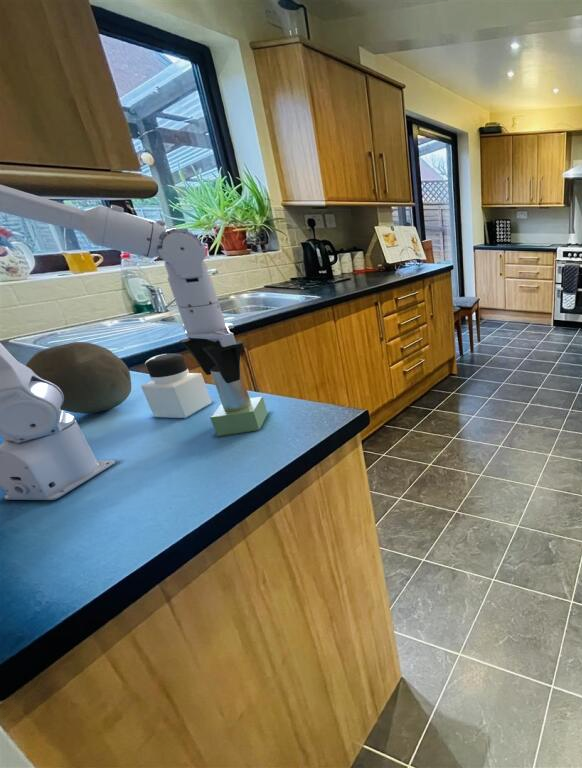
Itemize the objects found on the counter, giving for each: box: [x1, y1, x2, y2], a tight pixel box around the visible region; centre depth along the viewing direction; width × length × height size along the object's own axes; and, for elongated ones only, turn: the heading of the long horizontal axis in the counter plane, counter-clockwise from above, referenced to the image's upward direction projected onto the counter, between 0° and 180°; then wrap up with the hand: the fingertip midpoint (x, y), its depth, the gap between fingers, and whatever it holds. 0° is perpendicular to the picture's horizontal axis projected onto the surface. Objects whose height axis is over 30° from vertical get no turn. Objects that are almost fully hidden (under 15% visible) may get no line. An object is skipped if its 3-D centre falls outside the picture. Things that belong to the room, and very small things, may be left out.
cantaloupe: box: [25, 341, 132, 414], centre depth 81 cm, size 14×14×15 cm
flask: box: [210, 366, 251, 412], centre depth 74 cm, size 4×4×10 cm
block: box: [210, 396, 269, 437], centre depth 77 cm, size 7×7×4 cm
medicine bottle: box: [140, 352, 212, 419], centre depth 82 cm, size 7×7×12 cm
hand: (222, 377), depth 74 cm, fingers open, 7 cm apart
